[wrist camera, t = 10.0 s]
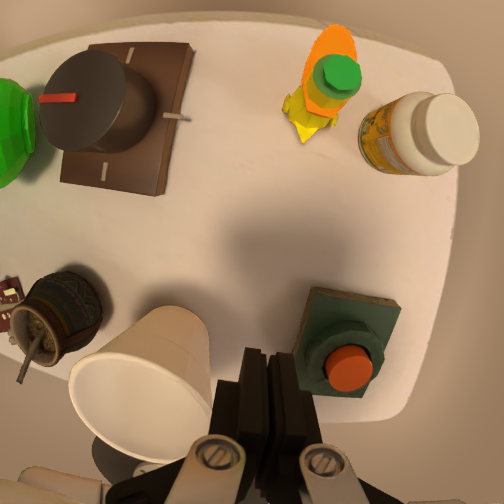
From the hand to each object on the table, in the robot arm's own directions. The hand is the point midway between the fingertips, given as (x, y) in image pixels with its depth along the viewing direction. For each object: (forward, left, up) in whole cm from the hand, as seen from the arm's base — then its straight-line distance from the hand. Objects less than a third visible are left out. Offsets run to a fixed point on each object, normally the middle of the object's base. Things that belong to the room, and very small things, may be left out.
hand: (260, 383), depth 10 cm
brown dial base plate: (+10, +13, -15) cm, 22 cm away
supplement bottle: (+12, -8, -15) cm, 21 cm away
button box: (-6, -9, -15) cm, 18 cm away
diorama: (-14, +33, -15) cm, 39 cm away
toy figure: (+13, -1, -15) cm, 20 cm away
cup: (-8, +6, -15) cm, 18 cm away
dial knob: (+10, +13, -13) cm, 21 cm away
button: (-6, -9, -12) cm, 16 cm away
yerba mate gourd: (-7, +16, -15) cm, 23 cm away
